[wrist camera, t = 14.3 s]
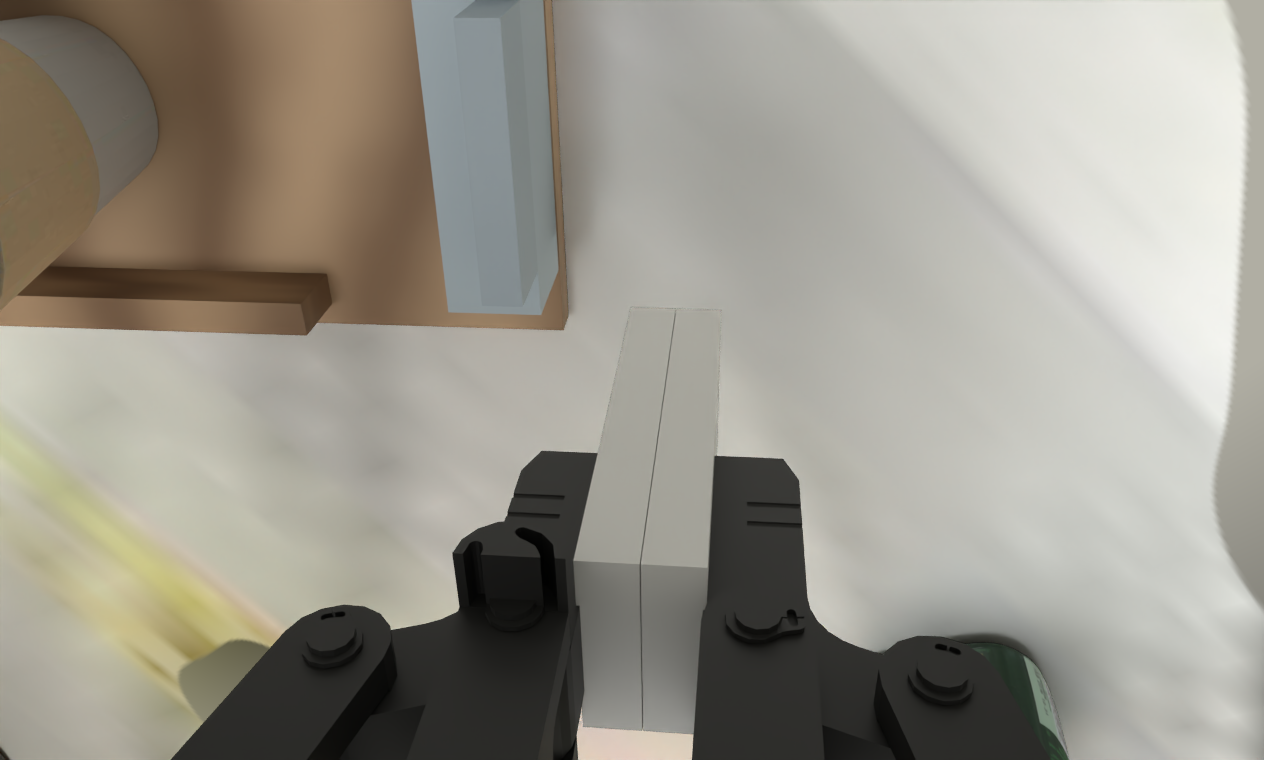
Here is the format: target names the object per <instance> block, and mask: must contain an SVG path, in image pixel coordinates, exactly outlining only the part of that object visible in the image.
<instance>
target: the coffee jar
mask: <svg viewBox="0 0 1264 760" xmlns="http://www.w3.org/2000/svg"><path fill="white" fill-rule="evenodd" d="M965 645H967V646H969V647H970V648H972V649H974V650H975V651H977V652H979V653H980V654H982V655H983V656H985V657H986V659H987V660H988V661H989V662H990V663H991V664H992V665H993V667H994V668H995V669H996V670H997V671H998V672H999V674H1000V675H1001V677H1002V679H1003V680H1004V682H1005V684H1006V685H1007V687H1008V689H1009V690H1010V692H1011V694H1012V696H1013V697H1014V699H1015V701H1016V702H1017V704H1018V706H1019V707H1020V709H1021V711H1022V712H1023V714H1024V716H1025V717H1026V719H1027V721H1028V722H1029V724H1030V726H1031V727H1032V729H1033V731H1034V732H1035V734H1036V736H1037V737H1038V739H1039V741H1040V742H1041V744H1042V746H1043V747H1044V749H1045V751H1046V752H1047V754H1048V756H1049V757H1050V759H1051V760H1069V756H1068V752H1067V747H1066V743H1065V739H1064V735H1063V731H1062V728H1061V724H1060V720H1059V717H1058V714H1057V711H1056V708H1055V705H1054V702H1053V699H1052V696H1051V693H1050V691H1049V688H1048V686H1047V684H1046V681H1045V680H1044V678H1043V676H1042V674H1041V672H1040V671H1039V669H1038V668H1037V666H1036V665H1035V664H1034V663H1033V662H1032V661H1031V660H1030V659H1029V658H1028V657H1027V656H1025V655H1024V654H1022V653H1020V652H1019V651H1017V650H1014V649H1012V648H1010V647H1007V646H1004V645H1001V644H995V643H972V644H965Z"/></svg>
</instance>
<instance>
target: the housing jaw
mask: <svg viewBox="0 0 1264 760" xmlns="http://www.w3.org/2000/svg"><path fill="white" fill-rule="evenodd" d="M411 2H412V10H413V18H414V27H415V35H416V44H417V52H418V60H419V69H420V77H421V86H422V94H423V103H424V111H425V119H426V128H427V136H428V145H429V153H430V161H431V170H432V178H433V187H434V195H435V204H436V212H437V220H438V229H439V237H440V246H441V254H442V262H443V271H444V279H445V288H446V296H447V305H448V312H453V313H487V314H521V315H541V314H542V311H543V309H544V306H545V303H546V301H547V298H548V296H549V293H550V291H551V288H552V286H553V283H554V280H555V278H556V275H557V273H558V270H559V269H558V252H557V234H556V217H555V199H554V182H553V164H552V147H551V129H550V112H549V94H548V77H547V59H546V42H545V24H544V7H543V0H411Z"/></svg>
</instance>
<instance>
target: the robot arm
mask: <svg viewBox="0 0 1264 760" xmlns="http://www.w3.org/2000/svg"><path fill="white" fill-rule="evenodd" d="M720 340H721V310H710V309H676V308H641V307H631V309H630V314H629V318H628V322H627V327H626V331H625V336H624V340H623V344H622V349H621V353H620V358H619V362H618V366H617V371H616V375H615V380H614V384H613V388H612V393H611V397H610V402H609V406H608V410H607V415H606V419H605V424H604V428H603V432H602V437H601V441H600V446H599V450H598V453H579V452H556V451H541V452H540V453H539V454H538V455H537V456H536V457H535V458H534V459H533V460H532V461H531V462H530V463H529V464H528V465H527V466H525V467H524V468H523V469H522V470H521V473H520V476H519V479H518V482H517V485H516V488H515V491H514V498H512V500H511V503H510V506H509V509H508V515H507V516H506V518H505V521H504V522H497V523H494V524H491V525H488V526H485V527H482V528H478V529H477V530H475V531H474V532H472V533H471V534H469V535H468V536H466V537H465V538H463V539H462V540H461V542H460V543H459V544H458V546H457V547H456V549H455V550H454V552H453V553H452V554H453V561H454V569H455V576H456V583H457V591H458V598H459V606H460V607H459V610H458V612H456V613H454V614H452V615H450V616H448V617H445V618H443V619H441V620H438V621H434V622H430V623H426V624H422V625H417V626H411V627H406V628H401V629H395V630H391V629H390V625H389V624H388V623H387V622H386V620H385V619H384V618H383V617H382V615H381V614H380V613H377V612H375V611H373V610H371V609H369V608H366V607H364V606H352V605H340V606H335V607H329V608H324V609H320V610H318V611H316V612H314V613H311V614H309V615H307V616H305V617H303V618H301V619H300V620H298V621H297V622H296V623H295V624H293V625H292V626H291V627H290V628H289V629H287V630H286V631H285V632H284V633H283V634H282V635H281V636H280V638H279V639H278V640H277V641H276V642H275V643H274V644H273V645H272V647H271V648H270V649H269V650H268V651H267V652H266V653H265V655H264V656H263V657H262V658H261V659H260V660H259V661H258V662H257V663H256V665H255V666H254V667H253V668H252V669H251V670H250V671H249V672H248V674H247V675H246V676H245V677H244V678H243V679H242V680H241V682H240V683H239V684H238V685H237V686H236V687H235V688H234V689H233V691H231V693H230V694H229V695H228V696H227V697H226V698H225V699H224V701H223V702H222V703H221V704H220V705H219V706H218V707H217V709H216V710H215V711H214V712H213V713H212V714H211V715H210V716H209V717H208V718H207V720H206V721H205V722H204V723H203V724H202V725H201V726H200V727H199V729H198V730H197V731H196V732H195V733H194V734H193V735H192V736H191V738H190V739H189V740H188V741H187V742H186V743H185V744H184V745H183V747H182V748H181V749H180V750H179V751H178V752H177V753H176V754H175V755H174V757H173V758H172V759H171V760H578V752H577V736H576V735H577V729H578V724H579V718H580V713H581V707H582V718H583V727H595V728H609V729H624V730H638V731H642V729H643V731H653V732H668V733H682V734H694V737H693V753H692V760H1051V759H1050V757H1049V756H1048V754H1047V752H1046V751H1045V749H1044V747H1043V746H1042V744H1041V742H1040V741H1039V739H1038V737H1037V736H1036V734H1035V732H1034V731H1033V729H1032V727H1031V726H1030V724H1029V722H1028V721H1027V719H1026V717H1025V716H1024V714H1023V712H1022V711H1021V709H1020V707H1019V706H1018V704H1017V702H1016V701H1015V699H1014V697H1013V696H1012V694H1011V692H1010V690H1009V689H1008V687H1007V685H1006V684H1005V682H1004V680H1003V679H1002V677H1001V675H1000V674H999V672H998V671H997V670H996V669H995V668H994V667H993V665H992V664H991V663H990V662H989V661H988V660H987V659H986V657H985V656H983V655H982V654H980V653H979V652H977V651H975V650H974V649H972V648H970V647H969V646H967V645H965V644H964V643H960V642H957V641H954V640H950V639H947V638H944V637H936V636H916V637H912V638H909V639H905V640H902V641H898V642H897V643H896V644H895V645H893V646H892V647H891V648H890V649H888V650H887V651H886V652H885V653H884V655H882V654H879V653H876V652H873V651H869V650H866V649H863V648H860V647H857V646H855V645H852V644H850V643H847V642H845V641H842V640H841V639H839V638H838V637H836V636H835V635H833V634H831V633H830V632H828V631H827V630H826V629H825V628H824V627H823V626H822V625H821V624H820V623H819V622H818V621H817V620H816V618H815V616H814V615H813V613H812V611H811V610H810V606H809V602H808V598H807V586H806V572H805V558H804V544H803V530H802V516H801V502H800V488H799V480H798V478H797V477H796V476H795V474H794V473H793V472H792V470H791V469H790V468H789V466H788V465H787V464H786V462H785V461H784V459H774V458H751V457H727V456H717V438H718V405H719V373H720ZM0 760H5V759H4V757H3V756H2V755H1V754H0Z"/></svg>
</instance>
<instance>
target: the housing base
mask: <svg viewBox="0 0 1264 760" xmlns="http://www.w3.org/2000/svg"><path fill="white" fill-rule="evenodd" d="M543 7H544V24H545V42H546V59H547V77H548V94H549V112H550V129H551V147H552V164H553V182H554V199H555V217H556V234H557V252H558V269H559V270H558V273H557V275H556V278H555V280H554V283H553V286H552V288H551V291H550V293H549V296H548V298H547V301H546V303H545V306H544V309H543V311H542V314H541V315H521V314H487V313H453V312H448V305H447V296H446V288H445V279H444V271H443V262H442V254H441V246H440V237H439V229H438V220H437V212H436V204H435V195H434V187H433V178H432V170H431V161H430V153H429V145H428V136H427V128H426V119H425V111H424V103H423V94H422V86H421V77H420V69H419V60H418V52H417V44H416V35H415V27H414V18H413V10H412V2H411V0H0V21H4V20H11V19H19V18H26V17H33V16H40V15H48V16H64V17H68V18H73V19H77V20H80V21H82V22H85V23H87V24H89V25H91V26H94V27H96V28H97V29H99V30H100V31H101V32H103V33H104V34H106V35H107V36H108V37H110V38H111V39H112V40H113V41H114V42H115V43H116V44H117V45H118V46H119V47H120V48H121V49H122V50H123V51H124V52H125V53H126V54H127V55H128V57H129V58H130V59H131V61H132V62H133V63H134V65H135V66H136V67H137V69H138V71H139V72H140V74H141V76H142V78H143V79H144V81H145V83H146V85H147V87H148V90H149V92H150V95H151V97H152V100H153V102H154V106H155V110H156V115H157V119H158V141H157V146H156V151H155V153H154V155H153V157H152V159H151V161H150V162H149V164H148V165H147V166H146V167H145V168H144V169H143V170H142V171H141V173H140V174H139V175H138V176H137V177H135V178H134V179H133V180H132V181H131V182H130V183H129V184H128V185H127V186H126V187H125V188H124V189H123V190H122V191H120V192H119V193H118V194H117V195H116V196H115V197H114V198H113V199H112V200H111V201H110V202H109V203H108V204H107V205H105V206H104V207H103V208H102V209H101V210H100V211H99V212H98V213H97V214H96V215H95V216H94V217H93V219H92V221H91V223H90V225H89V227H88V228H87V229H86V230H85V231H84V232H83V233H82V234H81V235H80V236H79V237H78V239H77V240H76V241H75V242H73V243H72V244H71V245H70V246H69V247H68V248H67V249H66V250H65V251H64V252H63V253H62V254H61V255H60V256H58V257H57V258H56V259H55V260H54V261H53V262H52V263H51V264H50V265H49V266H48V267H47V268H46V269H45V270H43V271H42V272H41V273H40V274H39V275H38V276H37V277H36V278H35V279H34V280H33V281H32V282H31V283H30V284H28V285H27V286H26V287H25V288H24V289H23V290H22V291H21V292H20V293H19V294H18V295H17V296H16V297H14V298H13V299H12V300H11V301H10V302H9V303H8V304H7V305H6V306H5V307H4V308H3V309H2V310H1V311H0V326H28V327H59V328H90V329H122V330H153V331H185V332H216V333H248V334H279V335H308V333H309V332H310V331H311V330H312V328H313V327H314V326H315V325H316V323H344V324H377V325H410V326H442V327H475V328H508V329H540V330H564V327H565V324H566V321H567V318H568V296H567V277H566V259H565V240H564V221H563V202H562V183H561V164H560V146H559V127H558V108H557V89H556V70H555V51H554V33H553V14H552V0H543Z"/></svg>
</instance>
